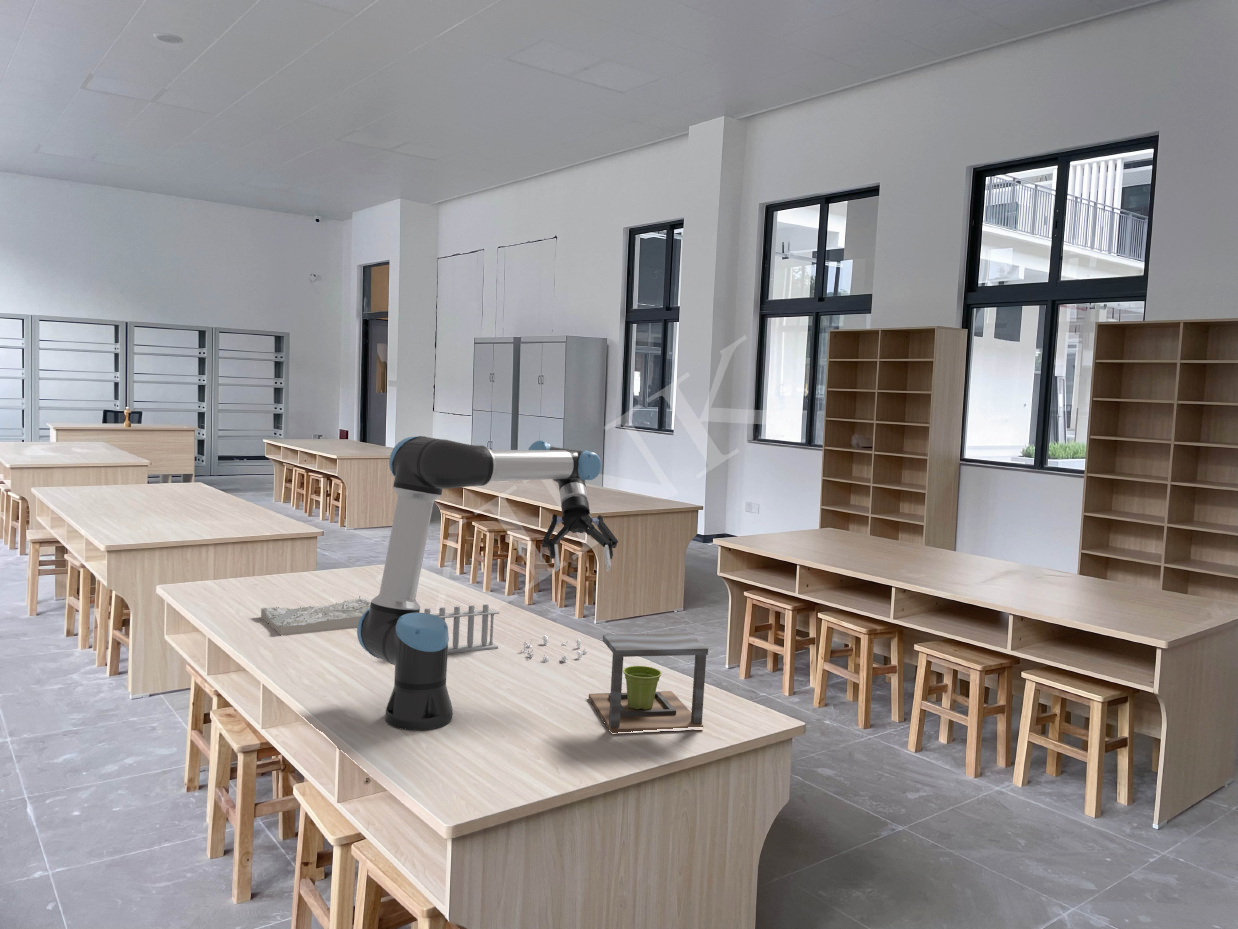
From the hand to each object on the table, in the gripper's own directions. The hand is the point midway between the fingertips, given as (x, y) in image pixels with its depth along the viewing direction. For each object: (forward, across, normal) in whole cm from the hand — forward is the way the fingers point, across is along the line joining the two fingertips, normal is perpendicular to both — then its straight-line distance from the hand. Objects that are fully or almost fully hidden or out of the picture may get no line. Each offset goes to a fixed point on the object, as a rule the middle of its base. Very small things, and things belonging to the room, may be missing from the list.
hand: (583, 568), depth 229 cm
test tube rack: (-3, +29, -48) cm, 56 cm away
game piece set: (+1, 0, -45) cm, 45 cm away
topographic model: (-27, +67, -73) cm, 103 cm away
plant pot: (+34, -12, -9) cm, 38 cm away
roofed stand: (+37, -12, -8) cm, 39 cm away
